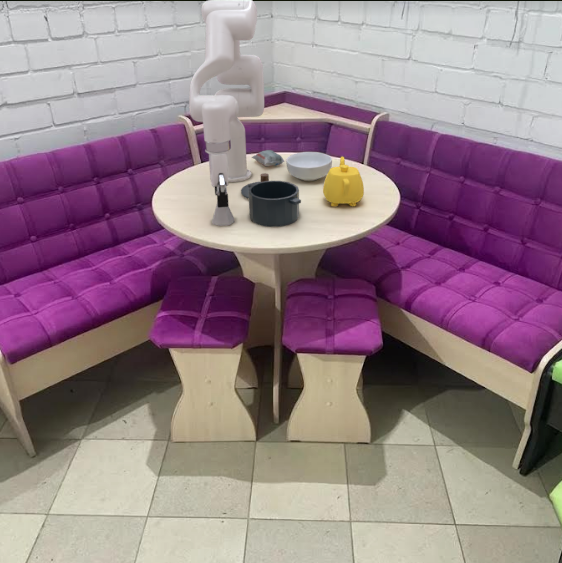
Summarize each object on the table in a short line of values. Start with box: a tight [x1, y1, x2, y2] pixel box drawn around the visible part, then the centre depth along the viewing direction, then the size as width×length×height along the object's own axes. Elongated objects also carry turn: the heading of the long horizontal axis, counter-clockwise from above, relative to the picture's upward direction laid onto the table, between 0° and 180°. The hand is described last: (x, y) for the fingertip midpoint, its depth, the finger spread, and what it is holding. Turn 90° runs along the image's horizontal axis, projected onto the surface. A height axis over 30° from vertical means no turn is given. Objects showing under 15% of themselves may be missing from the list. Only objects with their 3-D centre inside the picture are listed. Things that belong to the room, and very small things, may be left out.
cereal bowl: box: [285, 151, 333, 182], centre depth 207 cm, size 17×17×7 cm
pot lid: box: [240, 172, 270, 200], centre depth 194 cm, size 17×17×7 cm
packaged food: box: [251, 149, 285, 167], centre depth 220 cm, size 9×12×5 cm
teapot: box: [322, 156, 365, 207], centre depth 187 cm, size 13×20×12 cm
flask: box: [211, 191, 235, 227], centre depth 174 cm, size 7×7×10 cm
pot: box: [247, 180, 302, 228], centre depth 177 cm, size 16×21×9 cm
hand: (221, 200), depth 173 cm, fingers open, 9 cm apart
